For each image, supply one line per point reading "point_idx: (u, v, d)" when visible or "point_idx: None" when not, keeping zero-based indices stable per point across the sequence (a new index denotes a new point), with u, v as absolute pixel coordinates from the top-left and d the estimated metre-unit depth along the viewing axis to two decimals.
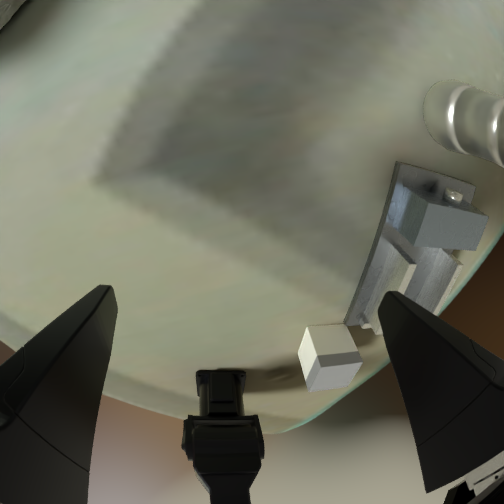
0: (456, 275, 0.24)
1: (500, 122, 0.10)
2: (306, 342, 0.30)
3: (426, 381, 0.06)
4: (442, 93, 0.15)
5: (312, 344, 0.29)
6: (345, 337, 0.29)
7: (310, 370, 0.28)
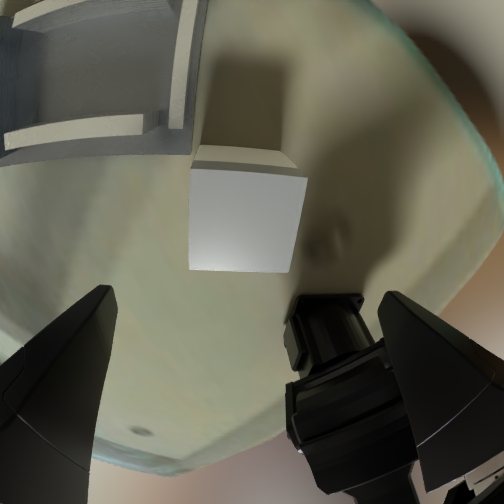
0: (30, 10, 0.06)
1: None
2: None
3: (426, 381, 0.06)
4: None
5: None
6: None
7: None
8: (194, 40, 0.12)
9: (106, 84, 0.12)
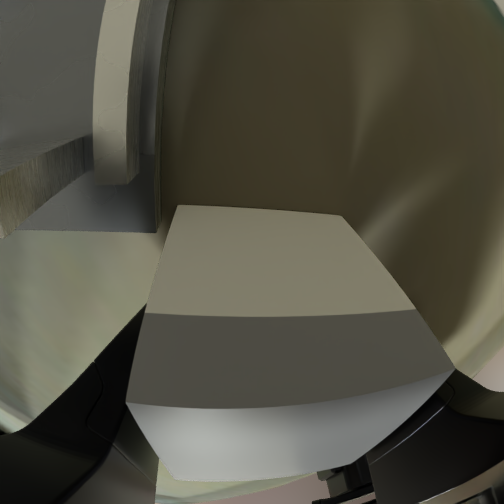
0: None
1: None
2: None
3: None
4: None
5: None
6: None
7: None
8: None
9: None
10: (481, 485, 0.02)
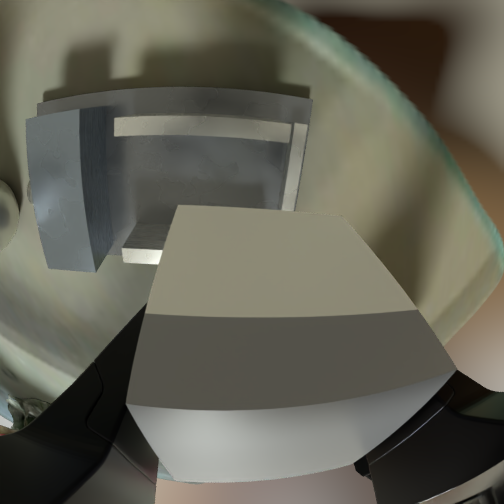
0: (138, 123, 0.12)
1: None
2: None
3: None
4: None
5: None
6: None
7: None
8: None
9: (215, 202, 0.18)
10: (481, 485, 0.02)
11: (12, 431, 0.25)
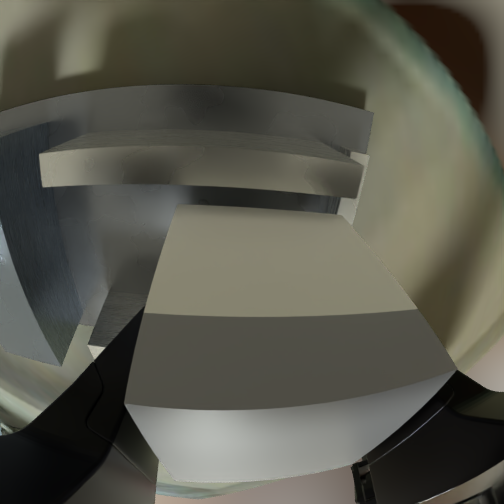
0: (77, 163, 0.06)
1: None
2: None
3: None
4: None
5: None
6: None
7: None
8: None
9: None
10: (481, 485, 0.02)
11: None
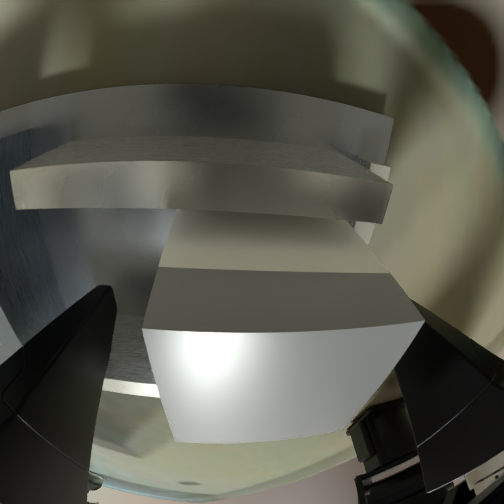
0: (51, 182, 0.05)
1: None
2: None
3: (426, 381, 0.06)
4: None
5: None
6: None
7: None
8: None
9: None
10: None
11: None
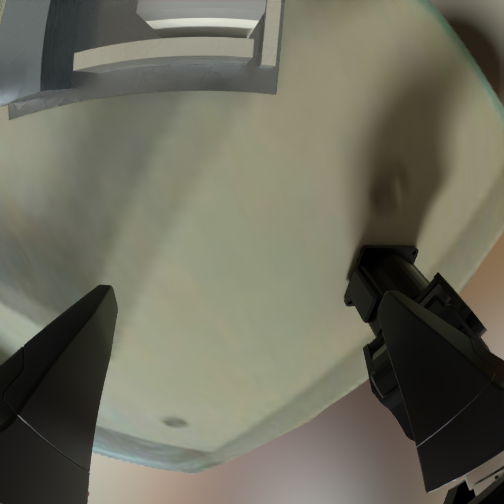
0: None
1: None
2: (185, 32, 0.11)
3: (426, 381, 0.06)
4: None
5: (157, 28, 0.10)
6: None
7: (209, 17, 0.09)
8: None
9: None
10: None
11: None
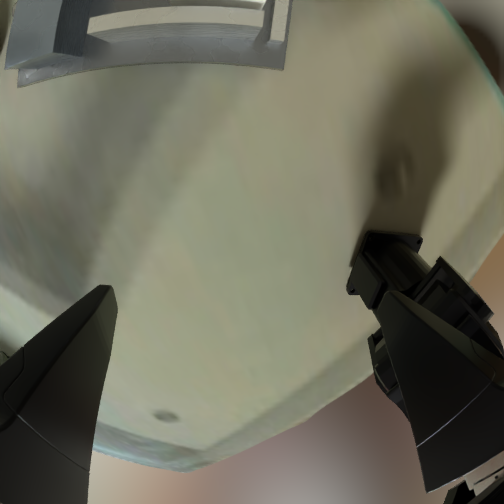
0: None
1: None
2: None
3: (426, 381, 0.06)
4: None
5: None
6: None
7: None
8: None
9: None
10: None
11: None
